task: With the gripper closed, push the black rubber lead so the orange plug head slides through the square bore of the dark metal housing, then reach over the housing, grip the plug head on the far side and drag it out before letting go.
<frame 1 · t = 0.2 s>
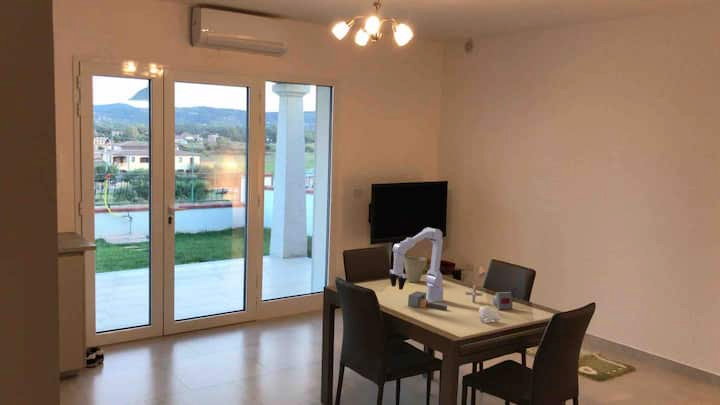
hand: (397, 287, 349), 10 cm above the table, fingers open, 7 cm apart
toy jack: (473, 302, 366), on the table
housing: (416, 304, 352), on the table
voltmeter: (507, 306, 360), on the table
plug: (423, 306, 351), on the table
white lumpy piece: (489, 322, 325), on the table
plant pot: (413, 281, 414), on the table
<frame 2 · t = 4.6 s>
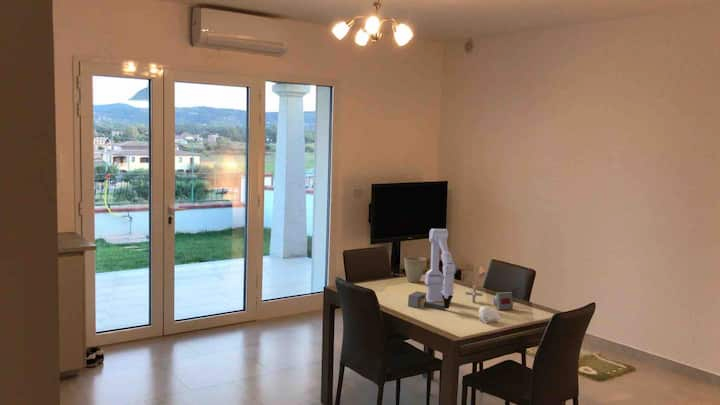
hand: (446, 308, 344), 1 cm above the table, fingers closed
plug: (421, 305, 351), on the table, touching gripper
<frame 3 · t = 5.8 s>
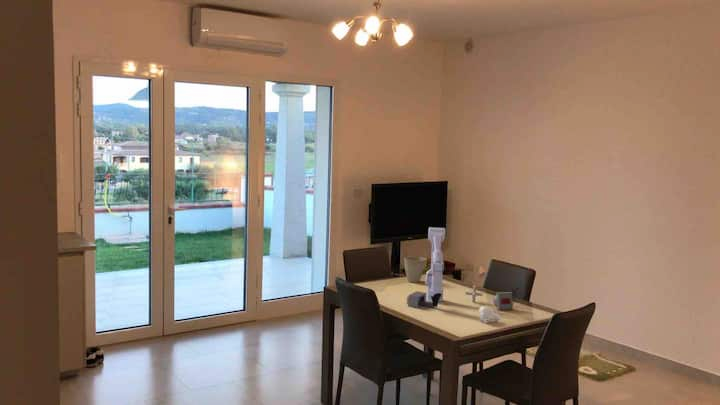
hand: (435, 306, 347), 1 cm above the table, fingers closed
plug: (411, 303, 355), on the table, touching gripper
everything else where it was.
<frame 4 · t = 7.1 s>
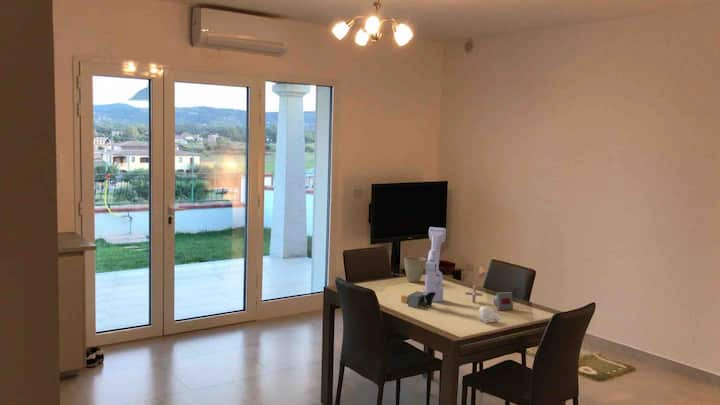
hand: (429, 305, 349), 1 cm above the table, fingers closed
plug: (405, 302, 357), on the table, touching gripper
everything else where it was.
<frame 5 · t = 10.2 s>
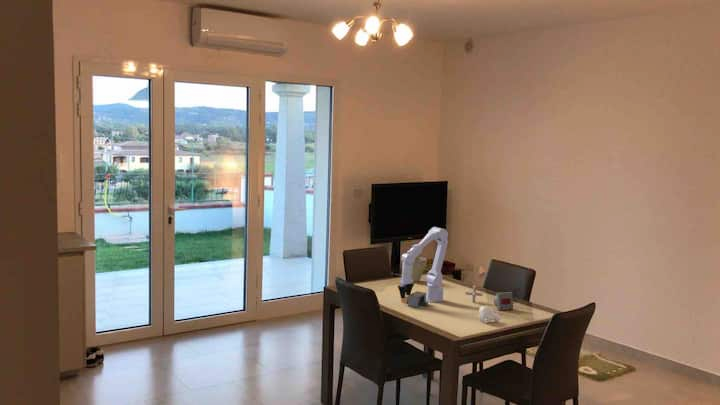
hand: (405, 296, 356), 4 cm above the table, fingers open, 7 cm apart
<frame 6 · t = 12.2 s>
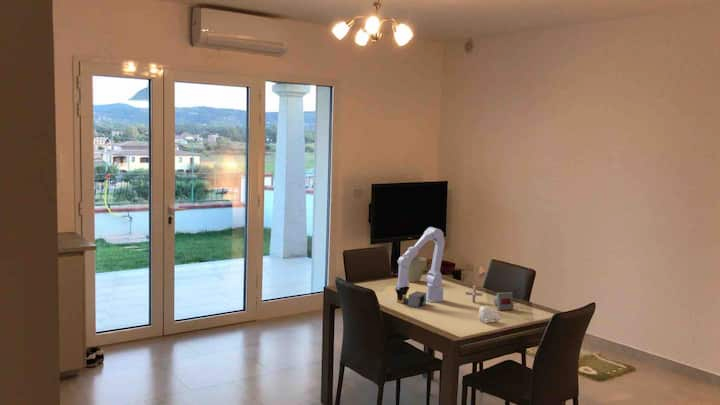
hand: (401, 299, 357), 2 cm above the table, fingers closed on plug, 4 cm apart
plug: (401, 302, 357), on the table, touching gripper
when the fingers open (2 cm above the table, at t = 13.1 s): plug stays where it is, on the table.
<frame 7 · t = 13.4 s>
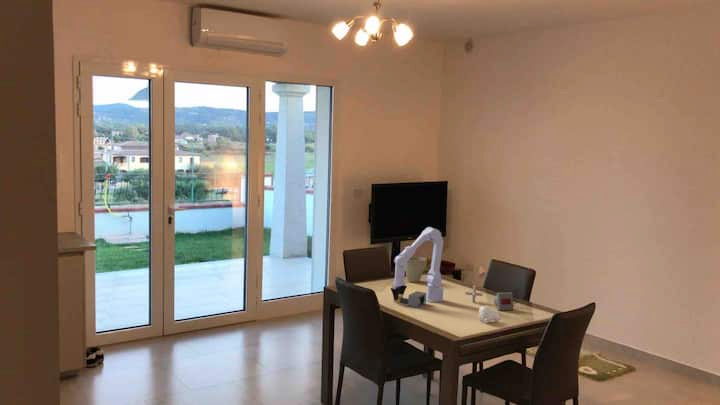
hand: (398, 298, 358), 2 cm above the table, fingers open, 7 cm apart
plug: (397, 301, 358), on the table
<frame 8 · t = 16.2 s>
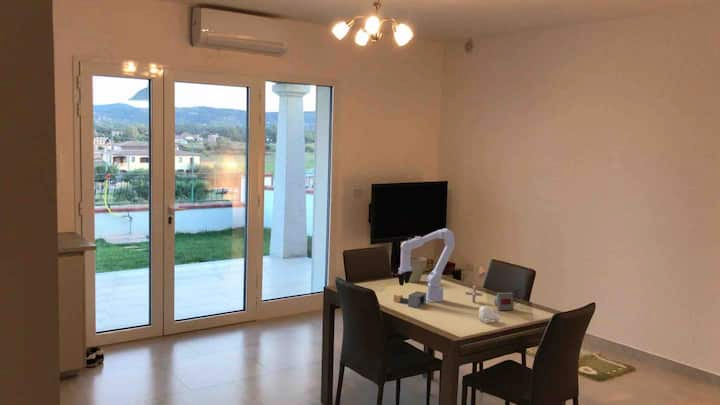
hand: (404, 284, 362), 9 cm above the table, fingers open, 7 cm apart
at the end: plug inside the target area on the table beside the housing (1.6 cm from its centre), on the table; plug moved 16.1 cm from its start; the gripper is holding nothing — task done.
